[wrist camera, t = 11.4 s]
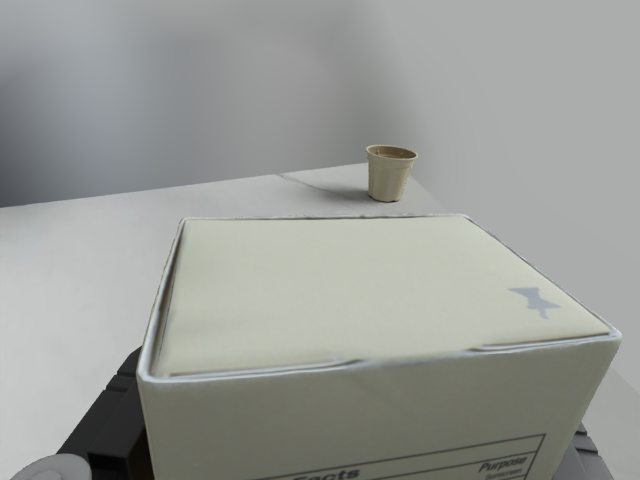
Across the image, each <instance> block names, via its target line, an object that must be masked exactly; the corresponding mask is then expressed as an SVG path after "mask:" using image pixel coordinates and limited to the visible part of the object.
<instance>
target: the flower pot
mask: <svg viewBox="0 0 640 480" xmlns="http://www.w3.org/2000/svg"><path fill="white" fill-rule="evenodd" d="M366 152H367V155H368V157H367V158H368V160H369V188H368V194H369V196H372V197H373V198H374V199H376V200H380V201H385V202H390V201H392V200H395V201H398V200H400V199H401V196H402V193H403V190H404V187H405V184H406V181H407V178H408V175H409V172H410V169H411V167H412V165H413V164H414V162H415V159H417V158H418V154H417V153H416V152H414V151H412V150H409V149H406V148H402V147H397V146H388V145H374V146H369V147H367V148H366Z"/></svg>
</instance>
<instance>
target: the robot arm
mask: <svg viewBox="0 0 640 480" xmlns="http://www.w3.org/2000/svg"><path fill="white" fill-rule="evenodd" d="M141 348H142V346H141V347H139V348H138V349H136V350H135V351H134V352H132V353H131V354H130V355H129V356H128V357H127V359H126V360H125V362H124V363H123V364H122V366H121V367H120V368H119V370H118V371H117V375H114V376H113V378H112V379H111V380H110V382H109V383H108V385H107V386H106V390H103V391H102V393H101V394H100V395H99V397H98V398H97V399H96V401H95V402H94V403H93V405H92V406H91V408H90V409H89V410H88V412H87V413H86V414H85V416H84V417H83V418H82V420H81V421H80V422H79V424H78V425H77V426H76V428H75V429H74V431H73V432H72V433H71V435H70V436H69V437H68V439H67V440H66V441H65V443H64V444H63V445H62V447H61V448H60V449H59V450H58V452H57V453H56V454H55V455H51V456H47V457H45V458H42V459H39V460H37V461H35V462H33V463H31V464H30V465H28V466H26V467H25V468H23V469H22V470H21V471H19V472H18V473H17V474H16V475H15V476H13V477H12V478H11V479H10V480H155V477H154V472H153V468H152V462H151V456H150V450H149V443H148V437H147V431H146V425H145V420H144V415H143V410H142V405H141V400H140V394H139V389H138V384H137V379H136V369H137V364H138V360H139V355H140V352H141ZM551 480H614V479H613V477H612V475H611V473H610V472H609V470H608V468H607V466H606V465H605V463H604V461H603V459H602V458H601V456H598V450H597V449H596V447H595V445H594V443H593V442H592V440H591V438H590V437H588V436H587V431H586V429H585V428H584V426H583V424H582V422H580V424H579V426H578V428H577V430H576V432H575V434H574V436H573V438H572V440H571V441H570V443H569V445H568V447H567V449H566V451H565V453H564V455H563V457H562V459H561V462H560V464H559V466H558V467H557V469H556V471H555V473H554V475H553V476H552V479H551Z"/></svg>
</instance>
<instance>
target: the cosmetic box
mask: <svg viewBox="0 0 640 480" xmlns="http://www.w3.org/2000/svg"><path fill="white" fill-rule="evenodd" d="M622 340H623V337H622V333H620V332H619V331H618V330H617V329H615V328H614V327H613V326H612V325H611V324H610V323H609V322H608V321H606V320H605V319H603V318H602V317H600V316H599V315H597V314H596V313H594V312H593V311H592V310H590V309H589V308H587V307H586V306H585V305H583V304H582V303H581V302H580V301H578V300H577V299H576V298H575V297H574V296H573V295H572V294H570V293H569V292H567V291H566V290H565V289H564V288H562V287H561V286H560V285H558V284H557V283H556V282H554V281H553V280H552V279H550V278H549V277H548V276H546V275H545V274H544V273H543V272H541V271H540V270H539V269H538V268H536V267H535V266H534V265H532V264H531V263H529V262H528V261H527V260H526V259H524V258H523V257H522V256H521V255H519V254H518V253H517V252H515V251H514V250H513V249H511V248H510V247H509V246H507V245H506V244H505V243H504V242H502V241H501V240H500V239H498V238H497V237H496V236H495V235H493V234H492V233H490V232H489V231H487V230H486V229H484V228H483V227H481V226H480V225H479V224H477V223H476V222H474V221H473V220H472V219H471V218H470V217H468V216H466V215H464V214H406V215H404V214H361V215H304V216H255V217H227V218H224V217H209V218H183V219H182V220H181V221H180V223H179V226H178V230H177V234H176V237H175V239H174V241H173V244H172V247H171V250H170V254H169V257H168V259H167V262H166V265H165V267H164V271H163V274H162V277H161V283H160V286H159V288H158V292H157V295H156V298H155V301H154V304H153V307H152V311H151V315H150V319H149V322H148V326H147V330H146V334H145V337H144V341H143V345H142V348H141V352H140V355H139V360H138V364H137V369H136V379H137V384H138V389H139V394H140V400H141V405H142V410H143V415H144V420H145V425H146V431H147V437H148V443H149V450H150V456H151V462H152V468H153V472H154V477H155V480H551V479H552V476H553V475H554V473H555V471H556V469H557V467H558V466H559V464H560V462H561V459H562V457H563V455H564V453H565V451H566V449H567V447H568V445H569V443H570V441H571V440H572V438H573V436H574V434H575V432H576V430H577V428H578V426H579V424H580V422H581V420H582V418H583V416H584V414H585V412H586V410H587V408H588V406H589V404H590V402H591V400H592V398H593V396H594V394H595V392H596V390H597V389H598V387H599V385H600V383H601V381H602V379H603V377H604V376H605V374H606V372H607V370H608V368H609V366H610V364H611V362H612V360H613V358H614V356H615V354H616V353H617V350H618V349H619V346H620V344H621V342H622Z"/></svg>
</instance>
